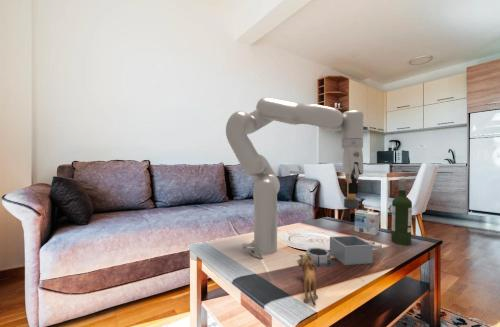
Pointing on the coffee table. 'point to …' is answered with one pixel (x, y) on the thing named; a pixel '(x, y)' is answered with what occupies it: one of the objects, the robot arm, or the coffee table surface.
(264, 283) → the coffee table surface
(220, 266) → the coffee table surface
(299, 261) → the lion figurine
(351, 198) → the strut
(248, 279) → the coffee table surface
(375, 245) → the adjustable wrench
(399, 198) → the wine bottle
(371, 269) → the coffee table surface
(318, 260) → the socket plate
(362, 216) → the light bulb box
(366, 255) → the bin
